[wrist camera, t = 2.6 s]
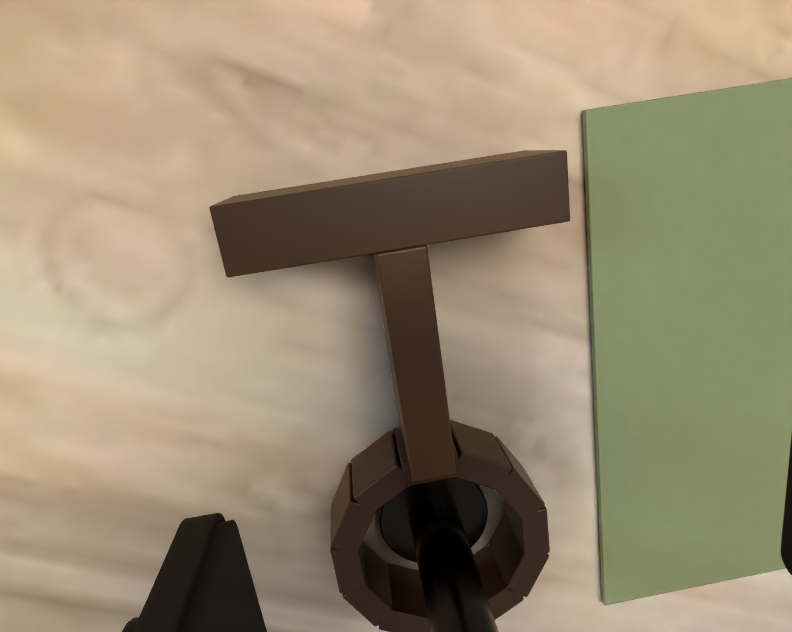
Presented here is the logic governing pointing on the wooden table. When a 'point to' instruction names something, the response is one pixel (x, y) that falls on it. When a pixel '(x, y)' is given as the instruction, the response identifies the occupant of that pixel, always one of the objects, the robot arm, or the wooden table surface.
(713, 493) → the felt mat
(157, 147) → the wooden table surface
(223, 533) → the robot arm
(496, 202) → the hanger
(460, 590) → the peg stand
